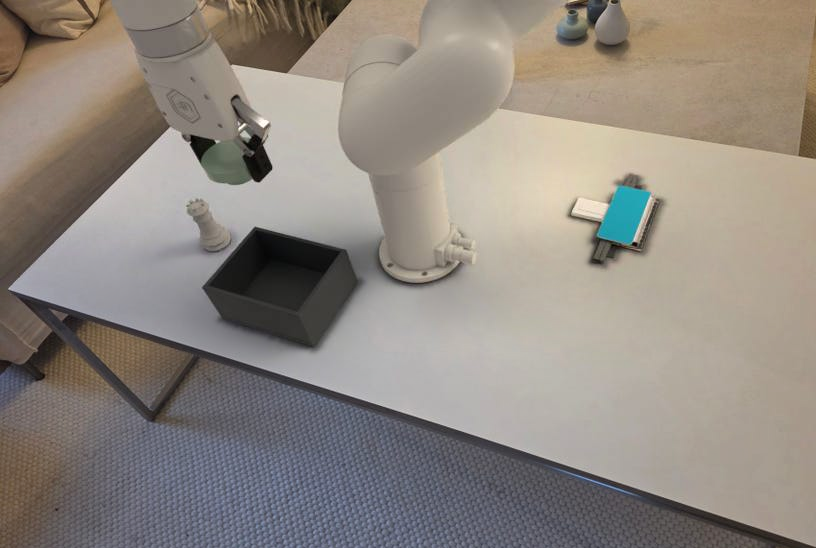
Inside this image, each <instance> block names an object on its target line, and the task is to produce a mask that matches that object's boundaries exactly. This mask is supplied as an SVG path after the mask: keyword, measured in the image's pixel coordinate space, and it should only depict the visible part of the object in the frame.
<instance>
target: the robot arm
mask: <svg viewBox="0 0 816 548" xmlns="http://www.w3.org/2000/svg"><path fill="white" fill-rule="evenodd" d="M108 1H109V3H110V5H111V7H112V9H113V10H114V12H115V14H116V16H117V17H118V19H119V21H120V23H121V24H122V27H123V28H124V31H125V32H126V34H127V36H128V37H129V39H130V41H131V42H132V44H133V46H134V49H133V50H134V53H135V57H136V60H137V63H138V66H139V68H140V72H141V73H142V76H143V78H144V81H145V83H146V85H147V86H148V89H149V91H150V93H151V95H152V98H153V99H154V101H155V108H156V109H157V110H158V112H160V113H161V114H162V116H163V118H164V120H165V121H166V123H167V124H168V126H169V127H170V128H172V130H175V131H176V132H180V134H181V138H182V139H183V140H184V141H185V142H186V143H189V146H190V148H191V150H192V152H193V153H194V155H195V157H196V159H197V160H198V162H199V164H200V166H201V167H202V165H201V159H202V156H203V155H204V153H205V152H206V151H207V150H208V149H209V148H210V147H212V146H213V145H215V144H217V142H216V141H218V142H221V141H223V142H231V141H234V142H235V143H236V145H237V146H238V147H239V148H240V149H241V150H242V151H243V152H244V153H245V154H244V155H243V156H242V157H243V160H244V162H245V164H246V166H247V168H248V170H249V172H250V174H251V176H252V178H253V179H252V181H253V182H255V183H262V181H263V180H264V179H265V178H266V177H267V176H268V175H269V174H270V173H271V172H272V171H273V169H274V168H273V164H272V163H271V159H270V157H269V155H268V153H267V151H266V149H265V144H266V142H267V139H268V138H269V133H270V130H271V127H272V125H271V123H270V121H269V120H268V119H266V118H265V117H264V116H262V115H261V114H260V113H258V112H257V111H256V110H254V108H252V107H251V104H250V101H249V100H248V97H247V95H246V93H245V90H244V88H243V86H242V85H241V84H242V83H241V82H240V80H239V78H238V77H237V75H236V73H235V71H234V69H233V67H232V66H231V64H230V62H229V59H227V57H226V55H225V53H224V52H223V50H222V49H221V47H220V45H219V44H218V42H217V41H216V39H214V38H212V33H211V30H210V29H209V27H208V24H207V22H206V20H205V18H204V15H203V13H202V11H201V9H200V7H199V4H198V2H197V0H108ZM569 2H571V0H427V2H426V3H425V5H424V7H423V8H422V11H421V16H420V19H419V23H418V24H419V25H418V39H417V40H418V41H417V47H416V46H415V44H413V43H411V42H410V41H409V40H407V39H406V38H404V37H402V36H399V35H395V34H390V33H383V34H376V35H373V36H370V37H368V39H366V40H364V41H363V42H362V43H360V44H359V46H358V47H356V49H355V50H354V52H353V53H352V55H351V57H350V60H349V62H348V64H347V67H346V72H345V75H344V76H345V77H344V82H343V88H342V94H341V96H342V97H341V101H340V108H339V114H338V122H337V124H338V125H337V133H338V140H339V143H340V146H341V149H342V151H343V153H344V155H345V156H346V158H347V159H348V161H349V162H350V163H351V164H352V165H354V166H355V167H356V168H357V169H358V170H361V171H362V172H365V173H367V174H368V178H369V183H370V187H371V190H372V194H373V197H374V202H375V205H376V209H377V213H378V217H379V220H380V224H381V228H382V231H383V236H384V237H383V238H382V240H381V242H380V245H379V249H378V257H379V260H380V264H381V266H382V267H383V269H384V271H385V272H386V273H387V274H388V275H389V276H391V277H393V278H394V279H396V280H399V281H402V282H405V283H410V284H411V283H412V284H413V283H416V284H420V283H428V282H432V281H437V280H438V279H441V278H443V277H445V276H446V275H448V274H449V273H451V272H452V271H454V270H455V268H457V266H458V265H459V263H460V262H461V263H462V264H466V265H470V266H474V265H476V262H477V258H478V252H477V251H473V249H474V248H475V246H476V241H475V240H474V239H471V238H464V237H463V236H462V235H461V233H460V232H459V230H458V225H457V224H455V223H451V222H450V216H449V215H450V214H449V208H448V201H447V195H446V187H445V181H444V180H445V179H444V174H443V166H442V157H441V152H442V151H443V150H445V149H446V148H447V147H449V146H451V145H453V143H455V142H456V141H458V140H459V139H461V138H463V137H464V136H466V135H468V133H470V132H471V131H474V129H476V128H477V127H479V126H480V125H482V123H485V122H487V120H488V119H490V118H491V117H492V116H493V114H495V113H496V112H497V110H499V108H501V106H502V104H503V103H504V102H505V100H506V99H507V97H508V95H509V93H510V91H511V89H512V85H513V82H514V78H515V67H516V65H515V64H516V63H515V54H514V48H515V47H516V46H517V45H518V44H519V43H520V42H521V41H522V40H523V39H525V38H526V37H528V36H529V35H530V34H531V33H533V32H534V31H535V30H537V29H538V28H539V27H540V26H541V25H543V24H544V23H545V22H546V21H547V20H548V19H550V18H552V16H554V15H555V14H556V13H558V12H559V11H560V10H561V9H562V8H564V7H565V6H566V5H567V4H568V3H569ZM244 131H245V132H246V134H247V135H248V136H249V138H250V140H249V142H248V143H247V142H246V141H245V140H244V139H243V138H242V137H243V136H242V135H241V134H242V133H243V132H244ZM201 169H203V167H202V168H201Z"/></svg>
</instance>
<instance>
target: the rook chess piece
mask: <svg viewBox="0 0 816 548" xmlns="http://www.w3.org/2000/svg"><path fill="white" fill-rule="evenodd" d="M194 200H195V201H193V199H190V200H188V202H189V203H188V202H187V203H186V205H185V206H186V214H187V215H188V216H190V217H192V221H193V222H195V223H196V224H197V226H198V229H199V242H200V244H201V245H202V248H203V249H205V250H206V251H210V252H218V251H221V250H223V249H225V248H226V247H228V246H229V244H230V242H231V238H232V237H231V234H230V232H228V229H227V228H226V227H225V226H223V225H221V224H220V223H218V222H217V221H216V220H215V218H214V217H213V213H212V211H210V210H209V208H210V204H209V202H207V201H205V200H204V199H203V198H199V197H195V198H194Z"/></svg>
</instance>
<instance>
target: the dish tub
mask: <svg viewBox="0 0 816 548" xmlns="http://www.w3.org/2000/svg"><path fill="white" fill-rule="evenodd" d="M358 283H359V281H358V278H357V275H356V273H355V270H354V267H353V264H352V261H351V257H350V255H349V252H348V249H345V248H342V247H341V248H340V247H338V246H333V245H329V244H325V243H322V242H318V241H313V240H310V239H306V238H301V237H297V236H294V235H290V234H287V233H282V232H278V231H275V230H271V229H267V228H262V227H258V226H253V228H252V229H251V230H250V231H249V232H248V233H247V235H246V236H245V237H244V238H243V239H242V241H241V242H240V243H239V244H238V245H237V246H236V247H235V249H234V250H233V251H232V252H231V253H230V254H229V255H228V257H227V258H225V260H224V261H223V262H222V263H221V265H220V266H219V267H218V268H217V269H216V271H214V273H212V275H211V276H210V277H209V278H208V280H207V281H206V282H205V283H204V284H203V285H202V286H201V289H202V290H203V292H204V293H205V295H206V296H207V297H208V299H209V300H210V303H211V304H212V306H213V307H214V308H215V310H216V311H217V312H218V314H219V316H220V317H221V319H223V320H225V321H228V322H232V323H234V324H238V325H242V326H245V327H248V328H250V329H253V330H257V331H261V332H263V333H267V334H270V335H274V336H276V337H280V338H283V339H287V340H290V341H293V342H295V343H299V344H303V345H305V346H309V347H312V348H315V347H316V346H317V345H318V343H319V341H320V340H321V338H322V337H323V335H324V334H325V333H326V331H327V329H328V328H329V327H330V325H331V323H332V322H333V321H334V319H335V317H336V316H337V314H338V313H339V312H340V310H341V308H342V307H343V306H344V304H345V303H346V301H347V299H348V298H349V296H351V294H352V293H353V291H354V289H355V288H356V286H357V285H358Z"/></svg>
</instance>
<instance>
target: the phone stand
mask: <svg viewBox="0 0 816 548" xmlns="http://www.w3.org/2000/svg"><path fill="white" fill-rule="evenodd" d="M639 177H640V175H638V174H634V173H629V174H628V176H627V179H626V181H625V183H624V184H623V185H618V186H617V188H616V189H615V192H614V194H613V197H612V199H611V201H610V203H607V202H601V201H597V200H592V199H588V198H584V197H578V198H577V200H576V202H575V204H574V206H573V209H572V210H571V216H572V217H576V218H581V219H586V220H590V221H595V222H599V223H601V225H600V227H599V229H598V231H597V233H596V237H597V238H599V239H600V241H599V243H598V245H597V249H596V251H595V254H594V256H593V260H592V262H595V263H599V264H604V263H605V261H606V258H607V257H608V258H612V259H614V258H615V256H616V253H617V250H618V247H621V248H624V249H628V250H633V251H637V252H643V249H644V246H645V243H646V240H647V239H648V235H649V233H650V230H651V227H652V224H653V222H654V219H655V216H656V213H657V211H658V209H659V205H660V202H661V201H660V199H659V198H657V194H655V195H654V196H651V195H652V192H651V191H649V190H644V189H642V188H643V186H642V185H640V184H639V185H638V184H637V182H638V179H639Z"/></svg>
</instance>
